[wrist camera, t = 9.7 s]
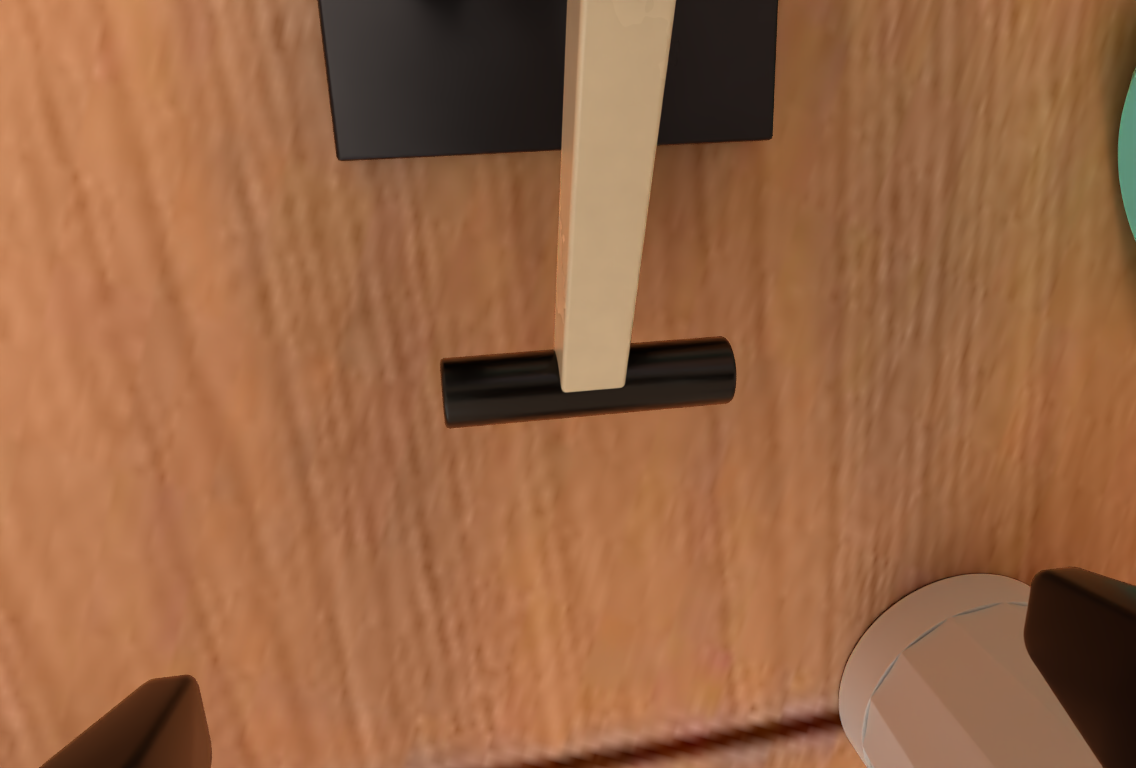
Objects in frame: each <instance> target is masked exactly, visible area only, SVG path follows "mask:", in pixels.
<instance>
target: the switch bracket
mask: <svg viewBox="0 0 1136 768" xmlns="http://www.w3.org/2000/svg"><path fill="white" fill-rule="evenodd" d="M317 1H318V9H319V18H320V26H321V34H322V42H323V50H324V58H325V67H326V75H327V83H328V91H329V99H330V107H331V116H332V124H333V132H334V140H335V148H336V156H337V158H338V160H340V161H353V160H373V159H394V158H414V157H435V156H455V155H476V154H496V153H517V152H537V151H558V150H561V147H562V121H563V96H564V70H565V45H566V19H567V0H317ZM777 14H778V0H676V5H675V12H674V20H673V27H672V35H671V42H670V50H669V57H668V65H667V72H666V80H665V88H664V95H663V103H662V110H661V118H660V125H659V133H658V140H657V146H660V145H681V144H701V143H722V142H742V141H763V140H770V139H772V136H773V113H774V88H775V63H776V38H777Z"/></svg>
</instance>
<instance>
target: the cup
mask: <svg viewBox="0 0 1136 768" xmlns="http://www.w3.org/2000/svg"><path fill="white" fill-rule="evenodd" d="M1030 588H1031V587H1030V586H1028V585H1027V584H1025V583H1023V582H1021V581H1018V580H1016V579H1013V578H1009V577H1006V576H1001V575H994V574H968V575H961V576H955V577H951V578H947V579H943V580H940V581H937V582H935V583H932V584H929V585H927V586H925V587H923V588H921V589H919V590H917V591H915V592H913V593H911V594H909V595H908V596H906V597H904V598H903V599H901V600H900V601H898V602H897V603H896V604H894V605H893V606H892V607H890V608H889V609H888V610H887V611H886V612H884V613H883V614H882V615H881V616H880V617H879V618H878V619H877V620H876V621H875V622H874V623H873V624H872V625H871V626H870V628H869V629H868V630H867V631H866V632H865V634H864V635H863V636H862V638H861V639H860V641H859V642H858V644H857V645H856V647H855V648H854V650H853V652H852V654H851V656H850V658H849V660H848V662H847V665H846V667H845V670H844V673H843V676H842V680H841V684H840V690H839V713H840V719H841V723H842V726H843V729H844V731H845V734H846V736H847V738H848V739H849V741H850V743H851V744H852V746H853V747H854V749H855V750H856V752H857V753H858V755H859V756H860V758H861V759H862V761H863V763H864V764H865V766H866V767H867V768H1103V767H1102V765H1101V764H1100V763H1099V761H1098V760H1097V758H1096V757H1095V755H1094V754H1093V752H1092V751H1091V749H1090V748H1089V746H1088V745H1087V743H1086V742H1085V740H1084V739H1083V737H1082V736H1081V734H1080V733H1079V731H1078V730H1077V728H1076V726H1075V725H1074V723H1073V722H1072V720H1071V719H1070V717H1069V716H1068V714H1067V713H1066V711H1065V710H1064V708H1063V707H1062V705H1061V704H1060V702H1059V701H1058V699H1057V698H1056V696H1055V695H1054V693H1053V692H1052V690H1051V689H1050V687H1049V685H1048V684H1047V682H1046V681H1045V679H1044V678H1043V676H1042V675H1041V673H1040V672H1039V670H1038V669H1037V667H1036V666H1035V664H1034V663H1033V661H1032V660H1031V658H1030V656H1029V654H1028V652H1027V650H1026V647H1025V643H1024V636H1023V632H1024V625H1025V619H1026V613H1027V607H1028V601H1029V595H1030Z"/></svg>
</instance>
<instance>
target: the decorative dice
mask: <svg viewBox="0 0 1136 768" xmlns="http://www.w3.org/2000/svg"><path fill="white" fill-rule="evenodd" d="M1118 172H1119V182H1120V188H1121V194H1122V199H1123V203H1124V208H1125V211H1126V215H1127V219H1128V222H1129V225H1130V228H1131V231H1132V233H1133V236H1134V238H1135V241H1136V67H1135V70H1134V72H1133V75H1132V79H1131V82H1130V86H1129V90H1128V93H1127V97H1126V100H1125V104H1124V108H1123V112H1122V116H1121V122H1120V128H1119V138H1118Z"/></svg>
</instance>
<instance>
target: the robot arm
mask: <svg viewBox="0 0 1136 768" xmlns="http://www.w3.org/2000/svg"><path fill="white" fill-rule="evenodd" d="M1023 636H1024V643H1025V647H1026V650H1027V652H1028V654H1029V656H1030V658H1031V660H1032V661H1033V663H1034V664H1035V666H1036V667H1037V669H1038V670H1039V672H1040V673H1041V675H1042V676H1043V678H1044V679H1045V681H1046V682H1047V684H1048V685H1049V687H1050V689H1051V690H1052V692H1053V693H1054V695H1055V696H1056V698H1057V699H1058V701H1059V702H1060V704H1061V705H1062V707H1063V708H1064V710H1065V711H1066V713H1067V714H1068V716H1069V717H1070V719H1071V720H1072V722H1073V723H1074V725H1075V726H1076V728H1077V730H1078V731H1079V733H1080V734H1081V736H1082V737H1083V739H1084V740H1085V742H1086V743H1087V745H1088V746H1089V748H1090V749H1091V751H1092V752H1093V754H1094V755H1095V757H1096V758H1097V760H1098V761H1099V763H1100V764H1101V765H1102V767H1103V768H1136V586H1134V585H1131V584H1128V583H1125V582H1121V581H1118V580H1115V579H1112V578H1109V577H1106V576H1103V575H1100V574H1097V573H1094V572H1090V571H1087V570H1084V569H1081V568H1077V567H1064V568H1056V569H1048V570H1042V571H1040V572H1038V573H1037V574H1036V575H1035V577H1034V578H1033V580H1032V583H1031V588H1030V595H1029V601H1028V607H1027V613H1026V619H1025V625H1024V632H1023ZM211 760H212V748H211V740H210V735H209V730H208V726H207V721H206V716H205V712H204V707H203V702H202V698H201V693H200V689H199V685H198V683H197V681H196V679H195V678H194V677H192V676H191V675H180V676H172V677H163V678H155V679H151V680H149V681H147V682H146V683H144V684H143V685H141V686H140V687H139V688H138V689H136V690H135V691H134V692H133V693H131V694H130V695H129V696H128V697H126V698H125V699H124V700H123V701H121V702H120V703H119V704H118V705H116V706H115V707H114V708H113V709H111V710H110V711H109V712H108V713H107V714H105V715H104V716H103V717H102V718H100V719H99V720H98V721H97V722H95V723H94V724H93V725H92V726H90V727H89V728H88V729H87V730H85V731H84V732H83V733H82V734H80V735H79V736H78V737H77V738H75V739H74V740H73V741H72V742H70V743H69V744H68V745H67V746H65V747H64V748H63V749H62V750H60V751H59V752H58V753H57V754H55V755H54V756H53V757H52V758H50V759H49V760H48V761H47V762H45V763H44V764H43V765H42V766H41V767H39V768H211Z"/></svg>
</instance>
